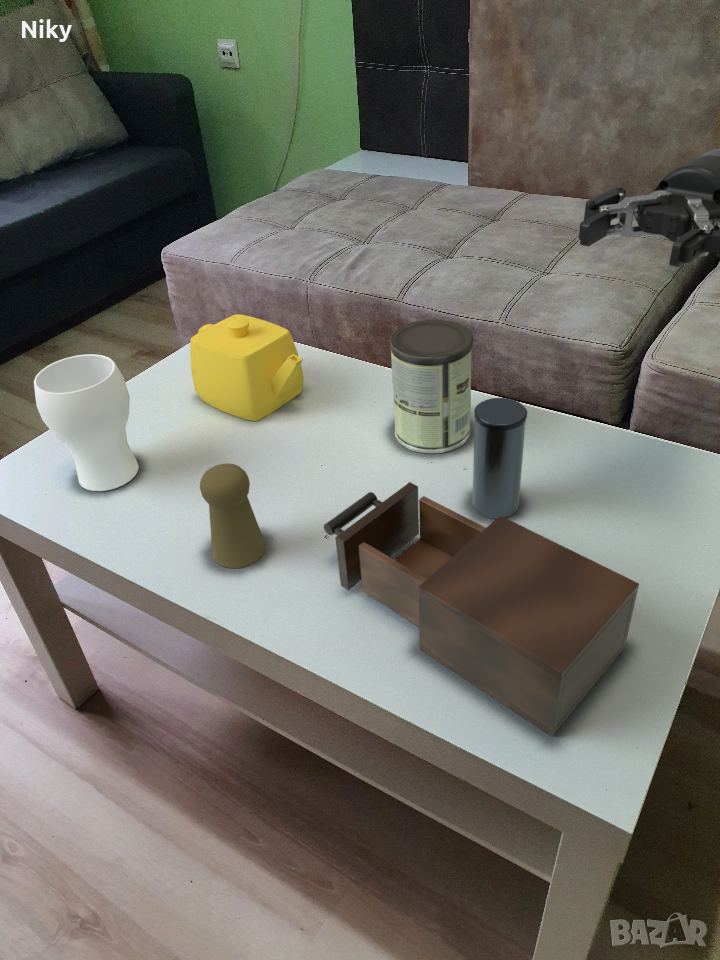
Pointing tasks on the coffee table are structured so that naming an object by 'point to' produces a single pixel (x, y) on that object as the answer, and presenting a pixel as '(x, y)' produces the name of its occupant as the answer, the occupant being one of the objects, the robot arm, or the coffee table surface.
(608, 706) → the coffee table surface
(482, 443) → the slate tube
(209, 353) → the teapot
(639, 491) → the coffee table surface
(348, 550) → the drawer
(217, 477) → the pepper shaker
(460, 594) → the cabinet
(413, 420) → the coffee can
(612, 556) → the coffee table surface
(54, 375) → the cup
